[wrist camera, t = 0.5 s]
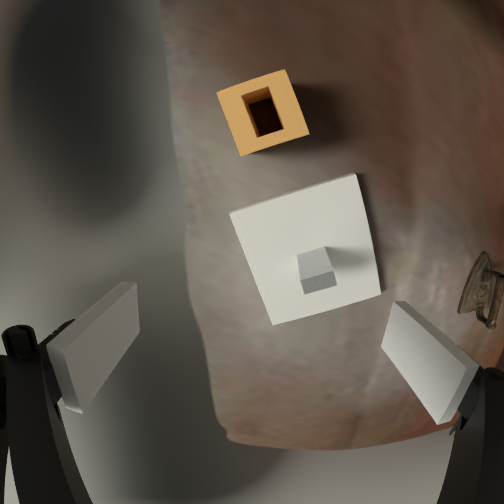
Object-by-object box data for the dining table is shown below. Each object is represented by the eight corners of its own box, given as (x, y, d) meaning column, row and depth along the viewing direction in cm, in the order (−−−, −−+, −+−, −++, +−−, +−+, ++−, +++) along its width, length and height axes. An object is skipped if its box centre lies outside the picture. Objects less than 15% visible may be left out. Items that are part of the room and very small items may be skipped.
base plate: (352, 172, 33) (355, 174, 31) (378, 289, 38) (380, 294, 37) (231, 210, 36) (229, 213, 35) (273, 319, 41) (272, 325, 40)
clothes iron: (455, 314, 39) (480, 337, 30) (458, 250, 38) (488, 260, 28) (484, 308, 38) (512, 328, 28) (488, 247, 36) (520, 256, 27)
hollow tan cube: (228, 102, 31) (216, 92, 24) (283, 83, 29) (284, 69, 23) (248, 153, 33) (240, 156, 27) (303, 136, 32) (309, 134, 25)
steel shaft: (324, 246, 35) (333, 270, 29) (327, 259, 36) (337, 285, 29) (296, 254, 36) (300, 280, 29) (300, 267, 36) (304, 294, 30)
